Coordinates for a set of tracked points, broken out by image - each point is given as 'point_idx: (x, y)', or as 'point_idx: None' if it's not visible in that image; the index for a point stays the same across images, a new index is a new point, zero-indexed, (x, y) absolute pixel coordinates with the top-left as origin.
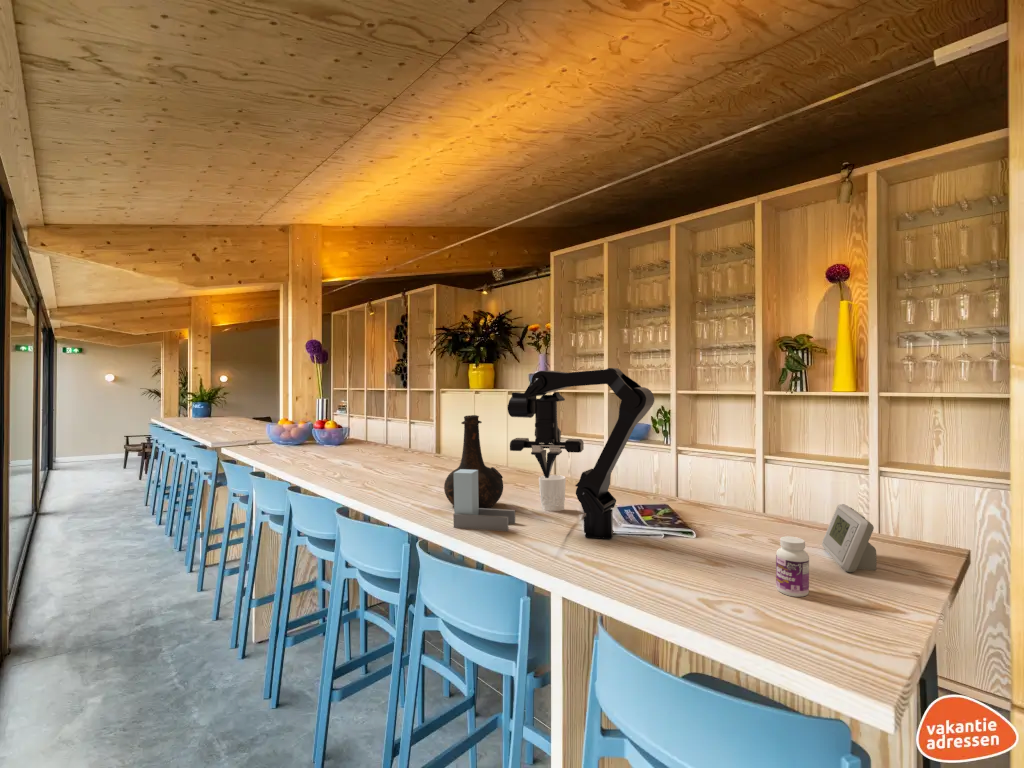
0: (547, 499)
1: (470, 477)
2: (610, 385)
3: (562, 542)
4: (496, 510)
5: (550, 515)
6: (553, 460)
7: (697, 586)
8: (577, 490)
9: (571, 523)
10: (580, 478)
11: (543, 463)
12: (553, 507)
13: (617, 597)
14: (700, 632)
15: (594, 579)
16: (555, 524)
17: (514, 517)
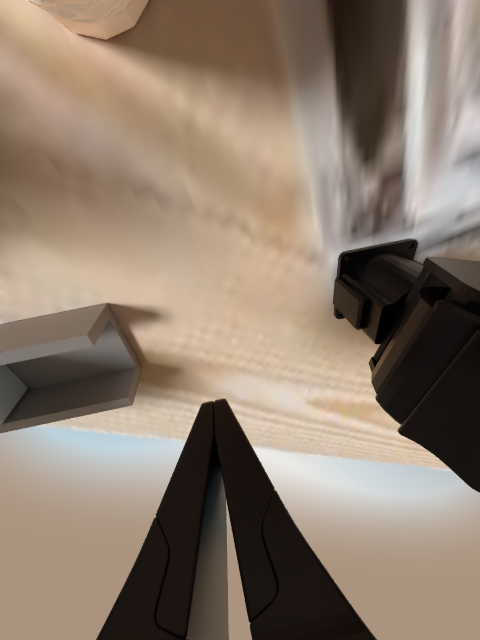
0: (58, 6)
1: None
2: None
3: (287, 358)
4: (23, 359)
5: (127, 75)
6: (308, 567)
7: None
8: (393, 416)
9: (269, 189)
10: (453, 468)
11: (223, 589)
12: (118, 15)
13: (378, 457)
14: (435, 467)
15: (355, 441)
16: (218, 228)
17: (101, 330)
